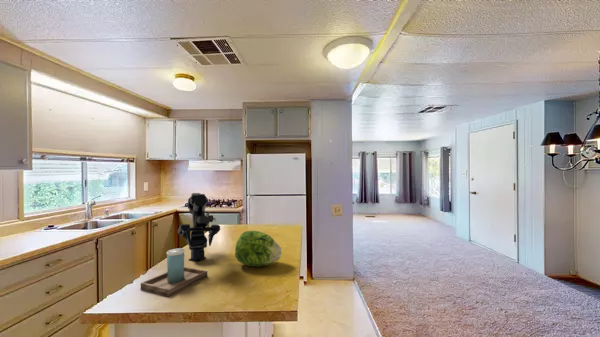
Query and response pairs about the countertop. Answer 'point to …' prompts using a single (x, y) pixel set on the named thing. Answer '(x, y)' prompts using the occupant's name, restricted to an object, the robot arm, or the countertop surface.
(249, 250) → the lettuce
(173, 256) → the cup
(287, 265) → the countertop surface
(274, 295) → the countertop surface
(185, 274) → the tray
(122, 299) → the countertop surface
